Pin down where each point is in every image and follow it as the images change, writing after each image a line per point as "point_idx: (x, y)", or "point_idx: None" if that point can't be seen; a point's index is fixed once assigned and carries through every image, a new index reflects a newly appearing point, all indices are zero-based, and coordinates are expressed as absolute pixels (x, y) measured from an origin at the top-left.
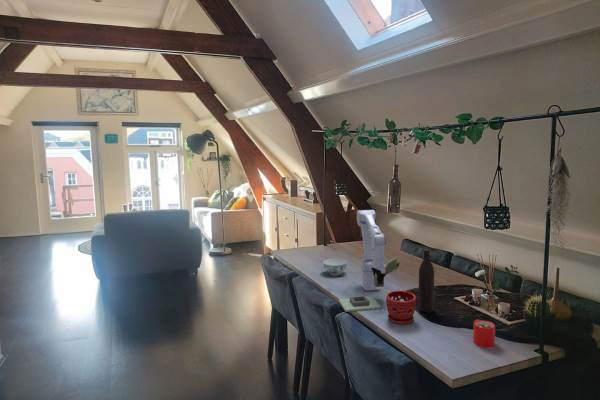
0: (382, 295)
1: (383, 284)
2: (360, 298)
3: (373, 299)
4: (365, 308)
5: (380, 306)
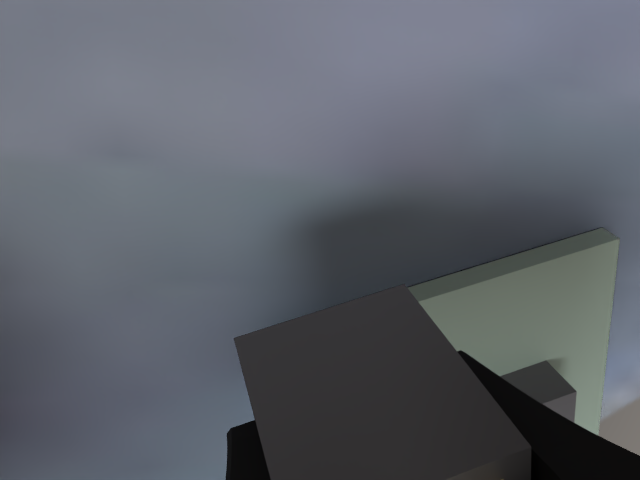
0: (134, 186)
1: (426, 319)
2: None
3: None
4: (601, 386)
5: (610, 247)
